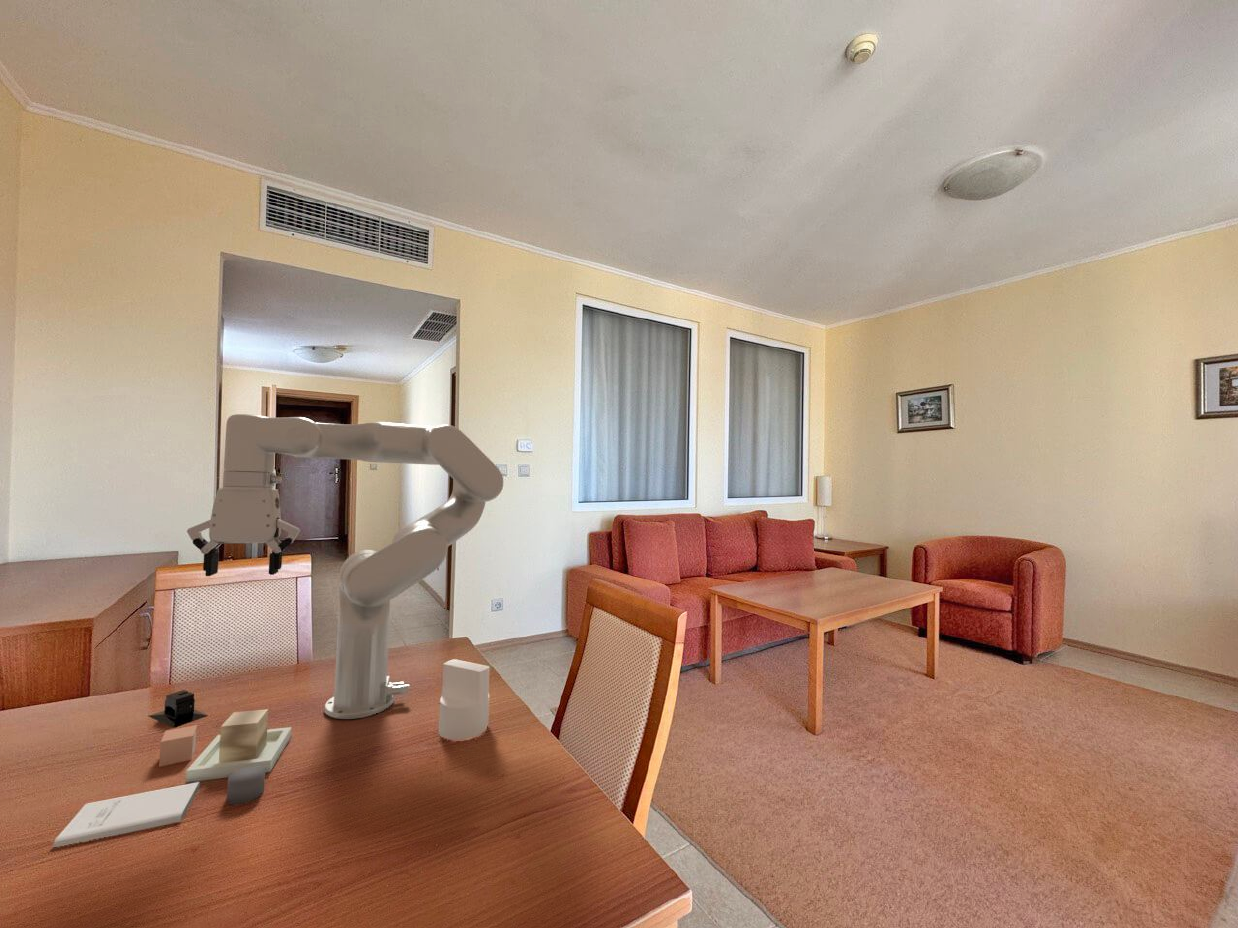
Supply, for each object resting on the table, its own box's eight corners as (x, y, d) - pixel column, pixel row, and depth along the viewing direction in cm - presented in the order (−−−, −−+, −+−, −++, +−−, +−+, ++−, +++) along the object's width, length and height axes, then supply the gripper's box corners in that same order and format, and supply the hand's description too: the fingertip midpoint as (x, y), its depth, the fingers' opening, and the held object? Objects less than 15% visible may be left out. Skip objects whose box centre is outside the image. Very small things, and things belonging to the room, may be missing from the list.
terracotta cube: (195, 748, 85) (196, 724, 85) (191, 760, 82) (193, 735, 82) (164, 755, 83) (165, 730, 83) (158, 767, 80) (160, 741, 80)
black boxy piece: (218, 718, 97) (219, 694, 97) (171, 735, 90) (173, 709, 90) (183, 704, 102) (185, 681, 102) (137, 719, 95) (138, 694, 96)
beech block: (266, 744, 86) (268, 708, 86) (255, 760, 81) (257, 722, 82) (231, 748, 85) (233, 712, 85) (218, 764, 80) (220, 726, 80)
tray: (291, 737, 90) (291, 726, 90) (270, 771, 80) (271, 760, 80) (217, 745, 86) (218, 734, 86) (185, 782, 76) (186, 770, 76)
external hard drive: (180, 825, 68) (52, 853, 62) (199, 791, 75) (86, 812, 70) (181, 813, 68) (53, 839, 62) (200, 780, 75) (87, 800, 70)
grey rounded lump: (268, 783, 77) (269, 763, 77) (258, 801, 72) (259, 780, 73) (233, 788, 75) (234, 768, 75) (221, 807, 71) (222, 785, 71)
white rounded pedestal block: (427, 734, 93) (430, 668, 93) (460, 714, 101) (463, 653, 101) (467, 745, 89) (470, 677, 90) (497, 723, 98) (500, 661, 98)
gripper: (307, 482, 99) (302, 569, 99) (201, 479, 94) (195, 571, 93) (296, 483, 92) (291, 576, 92) (181, 480, 87) (174, 579, 86)
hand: (243, 574), depth 93 cm, fingers open, 9 cm apart
